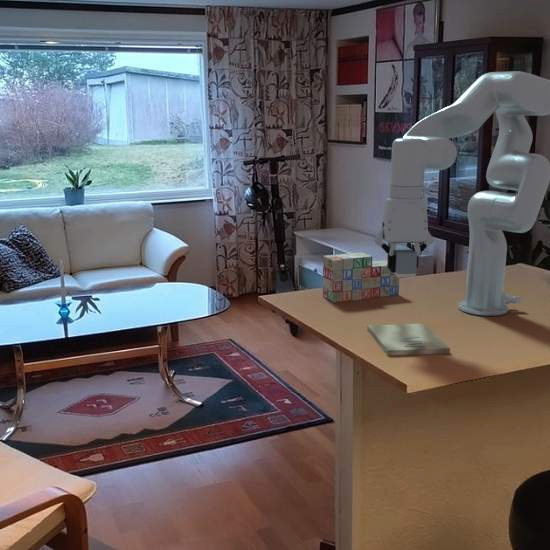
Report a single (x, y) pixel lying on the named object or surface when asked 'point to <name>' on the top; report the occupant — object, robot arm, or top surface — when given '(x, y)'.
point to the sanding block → (405, 262)
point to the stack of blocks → (357, 278)
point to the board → (407, 339)
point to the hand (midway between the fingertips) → (402, 270)
